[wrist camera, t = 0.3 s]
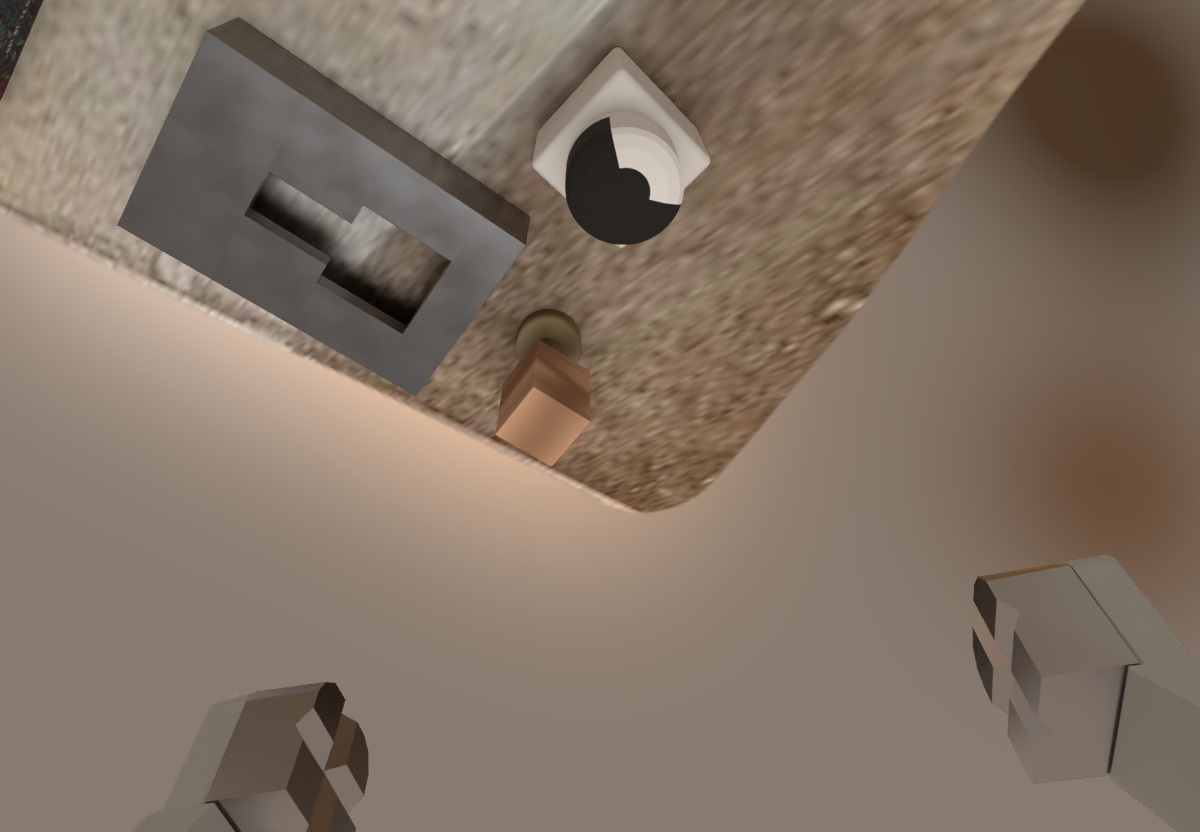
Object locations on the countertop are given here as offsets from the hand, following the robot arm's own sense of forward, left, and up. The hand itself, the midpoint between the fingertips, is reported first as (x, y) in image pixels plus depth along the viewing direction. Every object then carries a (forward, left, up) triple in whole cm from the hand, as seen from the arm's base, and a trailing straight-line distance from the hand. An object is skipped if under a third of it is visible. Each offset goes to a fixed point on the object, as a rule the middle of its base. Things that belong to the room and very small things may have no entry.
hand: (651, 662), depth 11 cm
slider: (+18, -6, -47) cm, 51 cm away
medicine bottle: (+5, 0, -47) cm, 47 cm away
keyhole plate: (+7, -18, -47) cm, 50 cm away
